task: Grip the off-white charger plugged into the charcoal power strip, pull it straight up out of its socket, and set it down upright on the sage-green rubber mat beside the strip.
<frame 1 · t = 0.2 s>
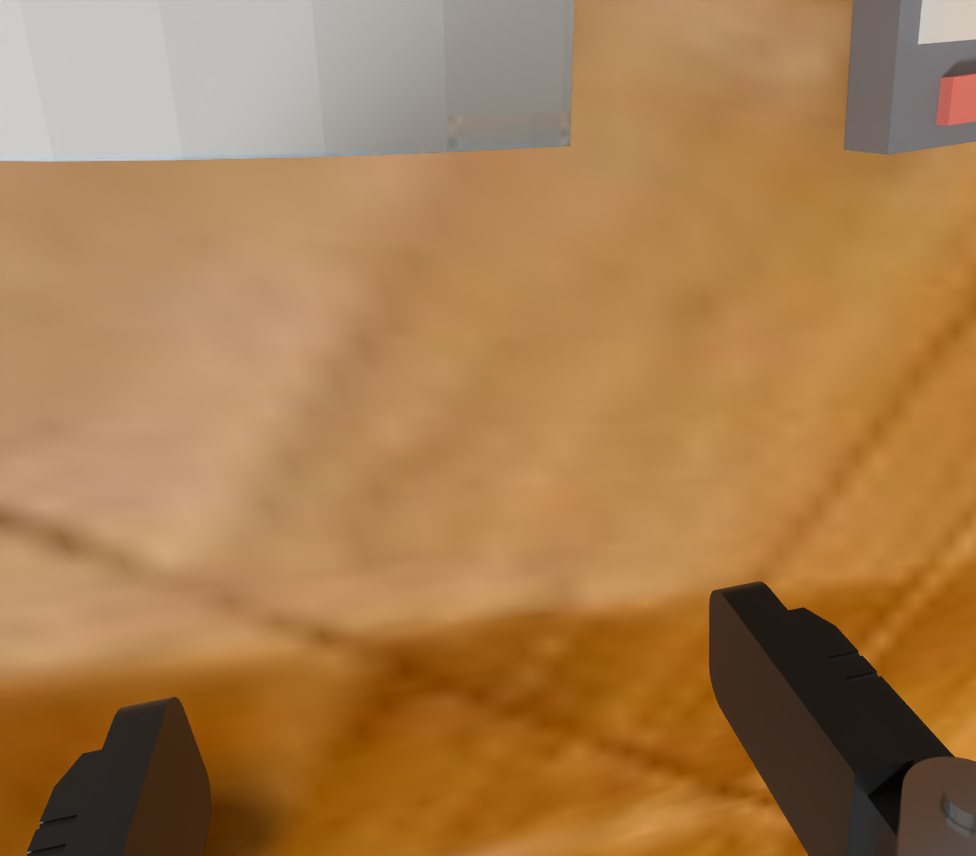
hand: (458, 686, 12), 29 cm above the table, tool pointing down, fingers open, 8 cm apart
electronic device: (324, 34, 34), on the table
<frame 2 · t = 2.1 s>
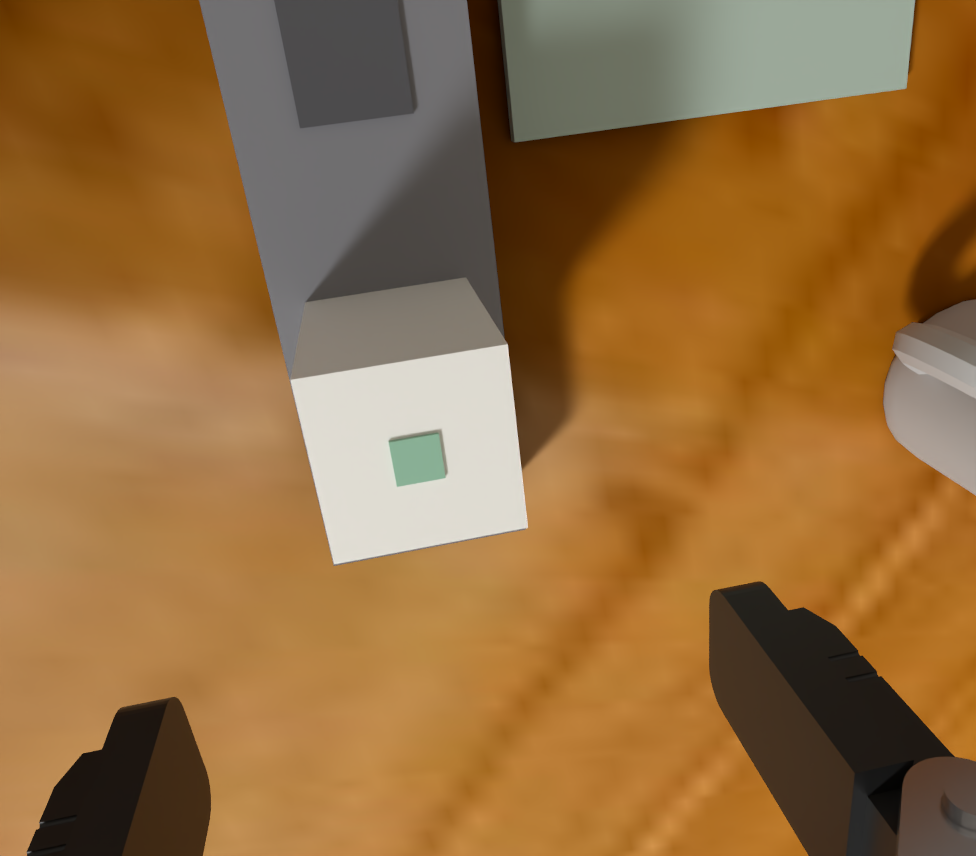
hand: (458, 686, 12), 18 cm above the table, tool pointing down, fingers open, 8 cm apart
power strip: (363, 161, 26), on the table
charger: (396, 348, 27), point 2 cm above the table, touching power strip
cup: (930, 362, 33), on the table
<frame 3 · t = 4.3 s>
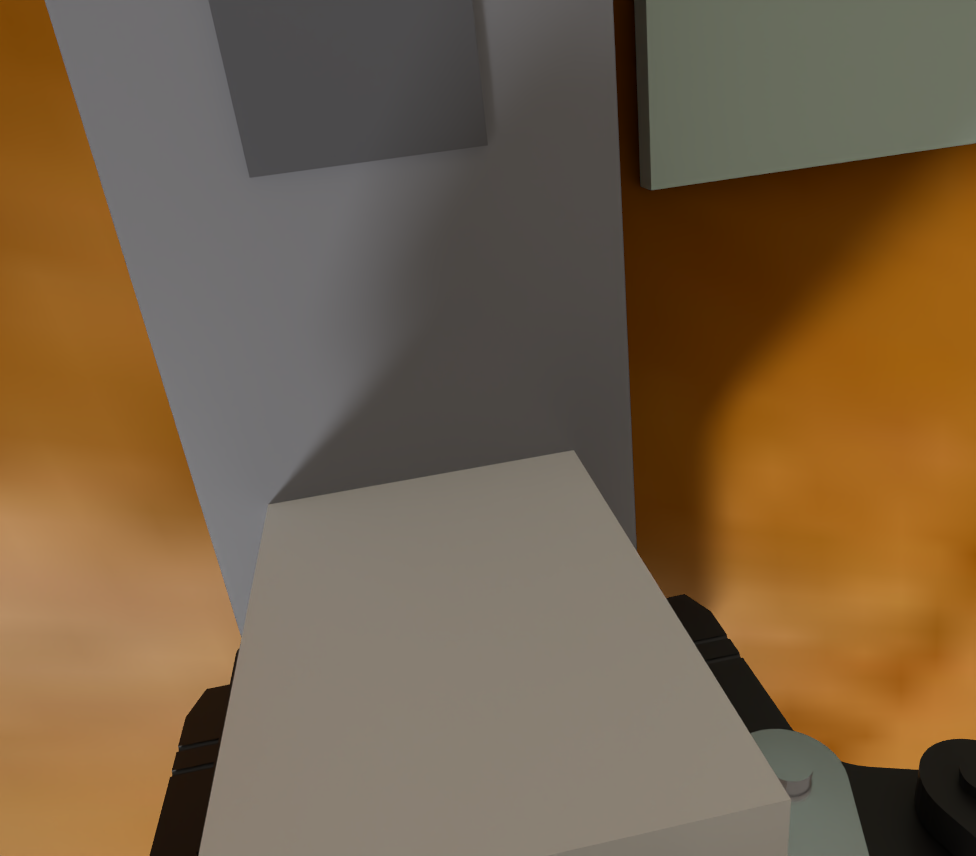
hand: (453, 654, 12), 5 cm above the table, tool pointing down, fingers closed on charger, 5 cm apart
power strip: (379, 224, 14), on the table
charger: (435, 547, 15), point 2 cm above the table, touching gripper, power strip
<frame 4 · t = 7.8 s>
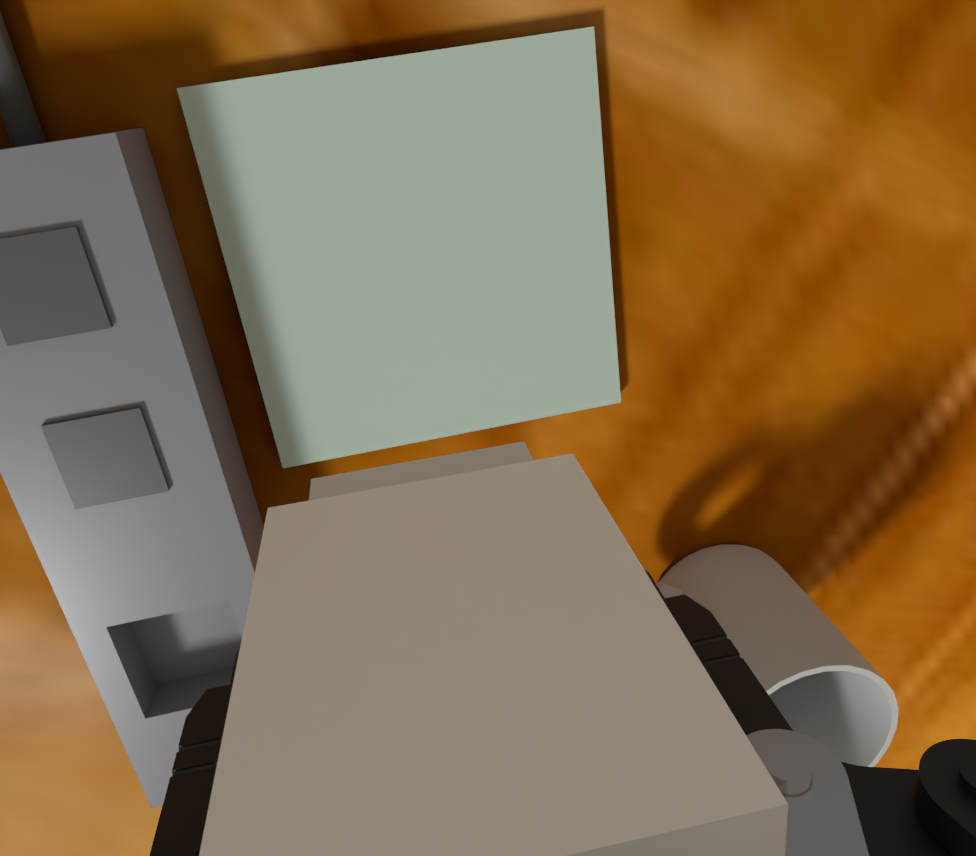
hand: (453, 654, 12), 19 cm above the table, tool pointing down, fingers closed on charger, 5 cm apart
power strip: (158, 486, 31), on the table
charger: (434, 550, 15), point 16 cm above the table, touching gripper
rubber mat: (424, 261, 29), on the table
cup: (689, 591, 38), on the table
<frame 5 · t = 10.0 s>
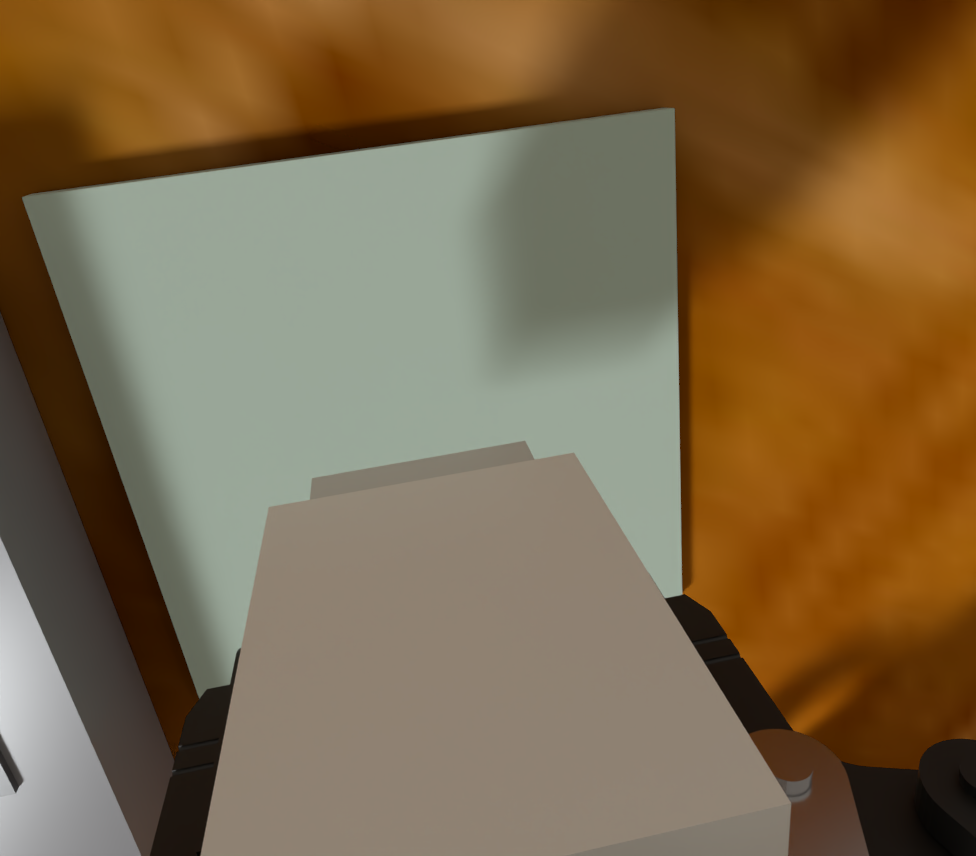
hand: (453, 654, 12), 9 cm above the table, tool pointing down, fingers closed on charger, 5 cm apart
power strip: (25, 733, 22), on the table
charger: (435, 549, 15), point 5 cm above the table, touching gripper
rubber mat: (411, 433, 20), on the table
when the fingers open (5 cm above the table, at t = 11.6 s): charger drops 1 cm, resting on rubber mat.
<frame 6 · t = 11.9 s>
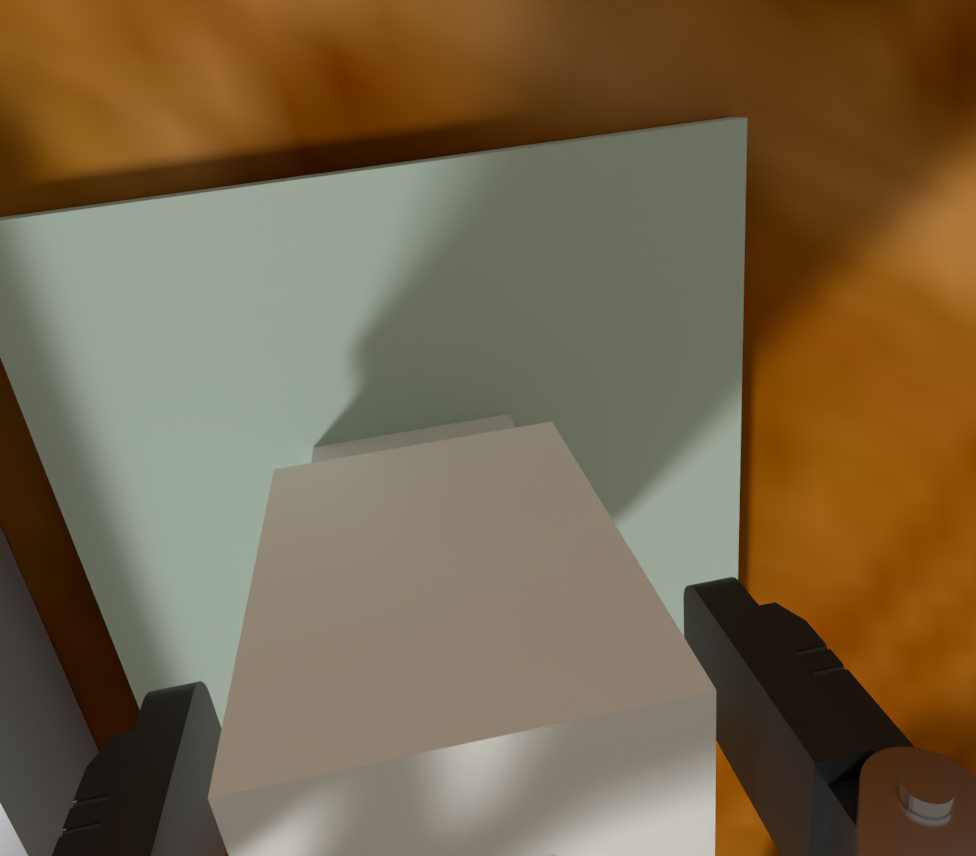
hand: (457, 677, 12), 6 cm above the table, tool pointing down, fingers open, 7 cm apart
charger: (426, 515, 17), point 1 cm above the table, touching rubber mat
rubber mat: (424, 500, 17), on the table
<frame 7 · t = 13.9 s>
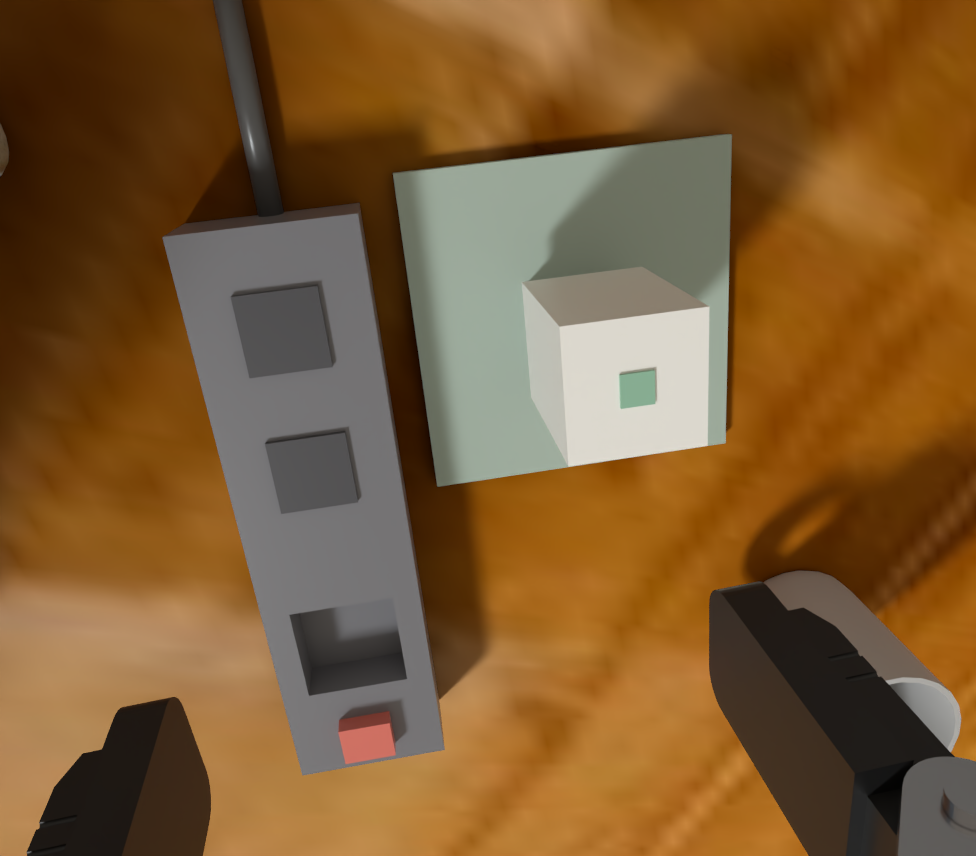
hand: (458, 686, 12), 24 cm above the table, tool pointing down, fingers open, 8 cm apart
power strip: (330, 497, 36), on the table
charger: (575, 322, 34), point 1 cm above the table, touching rubber mat
rubber mat: (572, 318, 35), on the table
cup: (767, 610, 43), on the table
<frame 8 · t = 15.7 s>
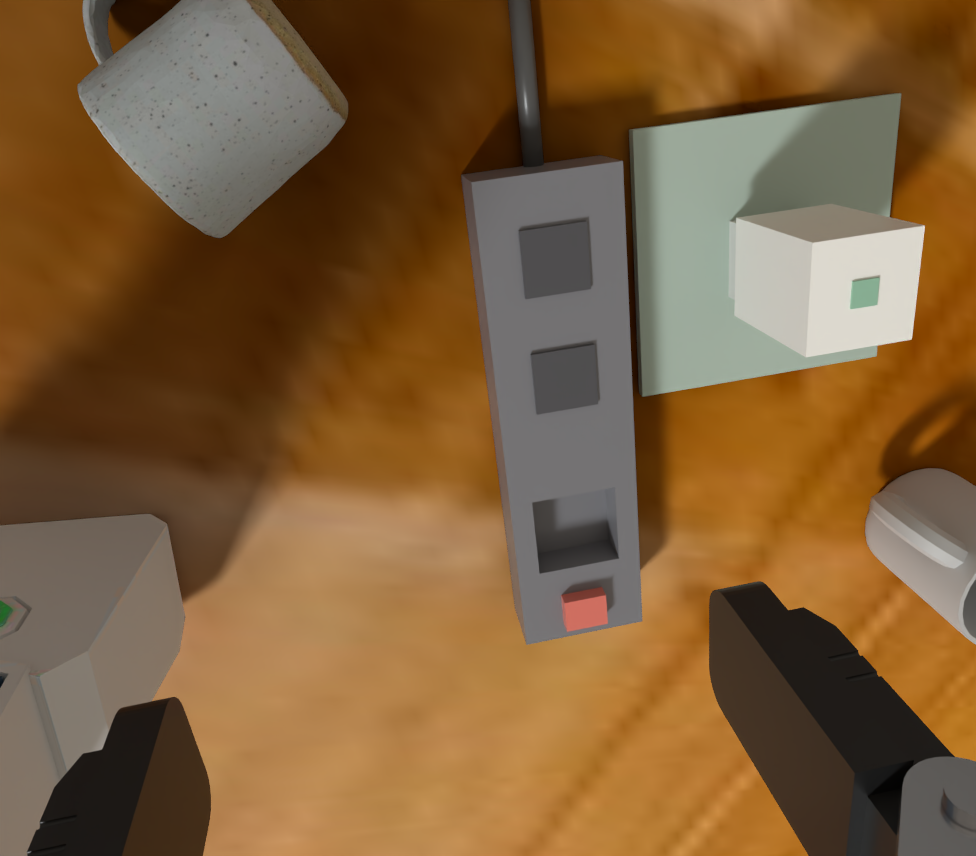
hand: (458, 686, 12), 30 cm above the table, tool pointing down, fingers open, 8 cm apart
electronic device: (65, 574, 43), on the table
ceramic mug: (210, 82, 35), on the table
power strip: (552, 407, 43), on the table
charger: (764, 254, 41), point 1 cm above the table, touching rubber mat
rubber mat: (759, 250, 42), on the table
cup: (896, 505, 50), on the table
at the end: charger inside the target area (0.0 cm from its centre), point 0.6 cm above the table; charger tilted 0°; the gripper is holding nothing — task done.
